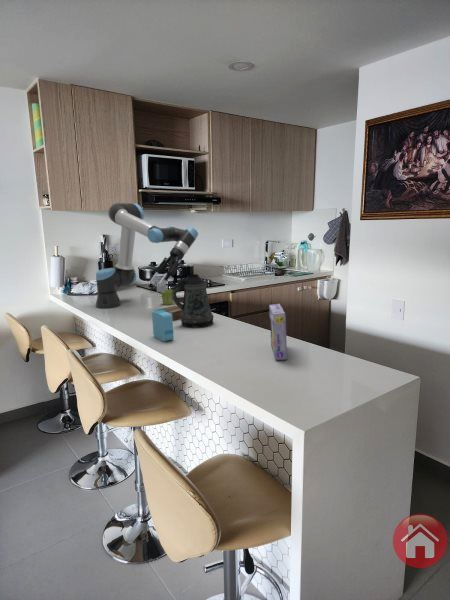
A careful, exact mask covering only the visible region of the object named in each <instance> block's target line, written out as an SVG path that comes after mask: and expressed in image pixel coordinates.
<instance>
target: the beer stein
mask: <svg viewBox="0 0 450 600" xmlns="http://www.w3.org/2000/svg"><path fill="white" fill-rule="evenodd" d="M207 286H208V283H207V281H205V280H204V279H203V278H201V277H200V276H199V274H188V275H187V277H185V278H181V279H179V280H178V281H177V284H176V285H174V286H173V287H172V288H171V290H172V299H173V304H175V306H178V307H179V308H180V309H182V310H183V313H182V317H181V319H180V322H181V325H182V326H183V327H184V328H189V329H190V328H191V329H199V328H206V327H210V326H212V325H213V322H214V314H213V312H212V310H211V307H210V302H209V298H208V292H207V288H208V287H207ZM179 291H184V292H183V304H182V303H181V302H180V300H179V299H178V297H177V293H178V292H179Z"/></svg>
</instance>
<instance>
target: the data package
mask: <svg viewBox="0 0 450 600" xmlns="http://www.w3.org/2000/svg"><path fill="white" fill-rule="evenodd" d="M151 315H152V316H151V318H152V334H153V337H155V338H156V339H157V340H160V341H162V342H163V343H165V342H169V341H173V340H174V337H175V336H174V321H173V318H172V314H171V313H168V312H166V311H163V310H159V309H157V310H153V311H151Z"/></svg>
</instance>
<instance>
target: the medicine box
mask: <svg viewBox="0 0 450 600" xmlns="http://www.w3.org/2000/svg"><path fill="white" fill-rule="evenodd" d="M165 274H166V273H161V274H158V275H157V276H156V282H155V283H156V292H157V293H161V292H165V291H166V290H168V288H167V282H166V283H165V284H164V286H162V285H161V284H160V283H159V282H160V281H161V279H162V278H163V277H164V275H165Z"/></svg>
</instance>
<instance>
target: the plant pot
mask: <svg viewBox="0 0 450 600" xmlns="http://www.w3.org/2000/svg"><path fill="white" fill-rule="evenodd" d="M160 295H161V299H162V304H163V305H164V306H170V305H171V306H172V305H173V304H174V301H173V299H172V289H166V291H165V292H160Z"/></svg>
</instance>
